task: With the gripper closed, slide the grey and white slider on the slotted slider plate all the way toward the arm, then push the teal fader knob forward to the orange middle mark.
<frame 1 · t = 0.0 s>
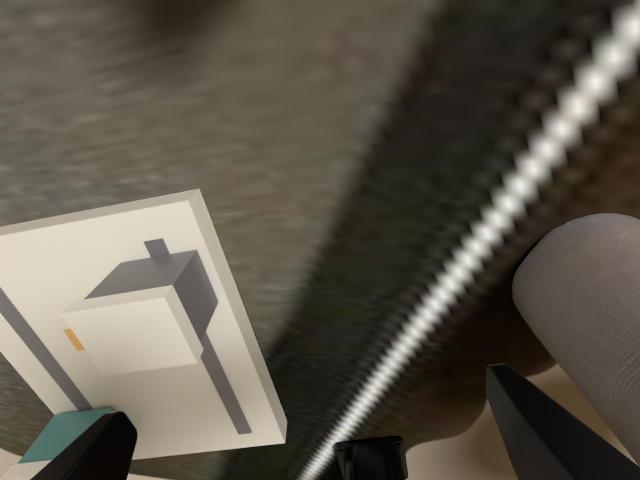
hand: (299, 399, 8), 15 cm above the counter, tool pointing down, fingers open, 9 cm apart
grey and white slider: (153, 308, 20), point 5 cm above the counter, slide at 6.5 cm
teal knob: (75, 456, 27), point 5 cm above the counter, slide at -6.0 cm
pillar candle: (578, 272, 24), on the counter
slotted slider plate: (143, 343, 27), on the counter
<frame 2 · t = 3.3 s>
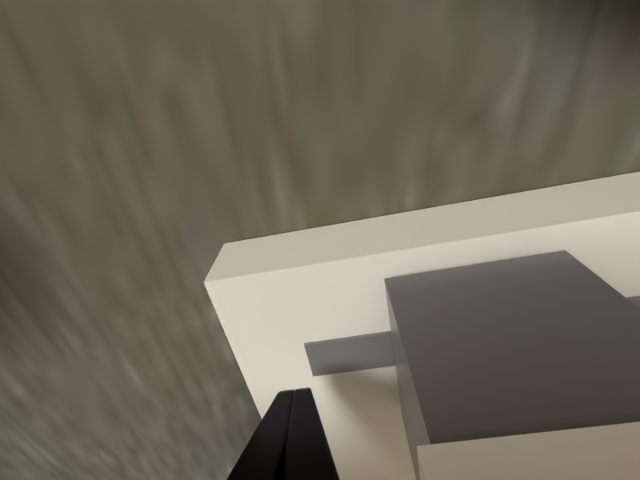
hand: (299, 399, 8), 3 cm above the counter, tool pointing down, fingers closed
grey and white slider: (520, 439, 7), point 5 cm above the counter, slide at 5.2 cm, touching gripper
slotted slider plate: (585, 397, 13), on the counter
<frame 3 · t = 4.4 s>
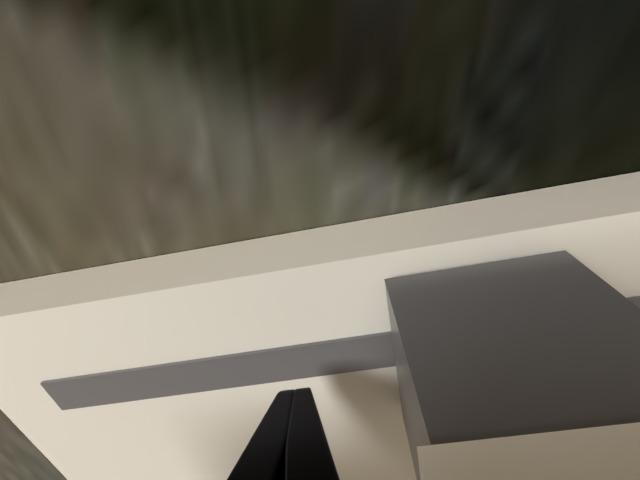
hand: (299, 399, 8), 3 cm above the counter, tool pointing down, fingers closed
grey and white slider: (521, 440, 7), point 5 cm above the counter, slide at -2.7 cm, touching gripper
slotted slider plate: (381, 421, 14), on the counter
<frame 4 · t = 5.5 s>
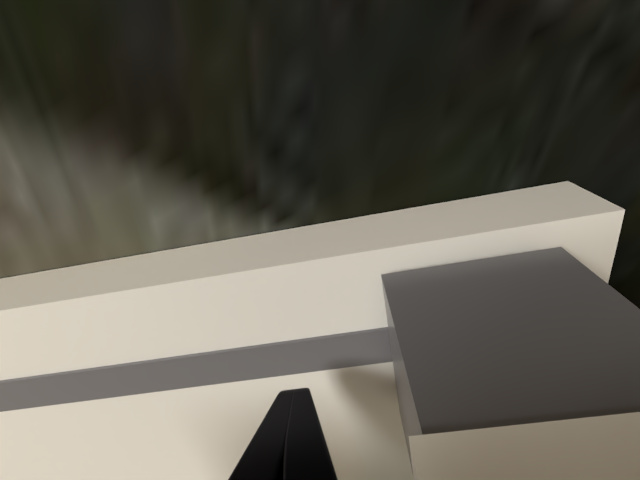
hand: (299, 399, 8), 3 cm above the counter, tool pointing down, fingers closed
grey and white slider: (515, 434, 7), point 5 cm above the counter, slide at -8.1 cm, touching gripper
slotted slider plate: (252, 431, 15), on the counter
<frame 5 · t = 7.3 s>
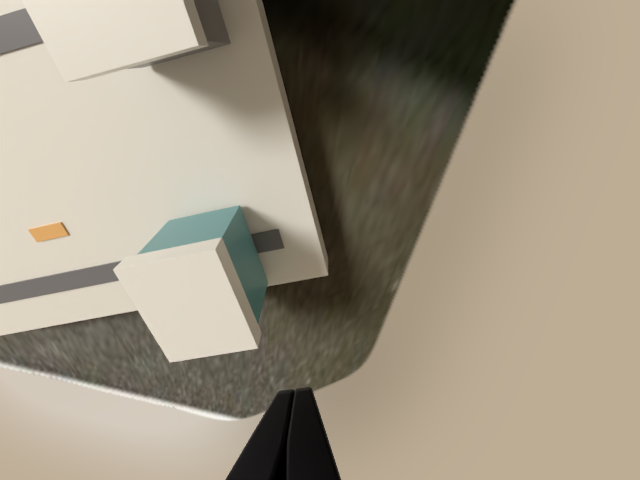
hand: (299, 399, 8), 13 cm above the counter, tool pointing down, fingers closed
teal knob: (207, 278, 17), point 5 cm above the counter, slide at -6.0 cm
slotted slider plate: (92, 161, 19), on the counter
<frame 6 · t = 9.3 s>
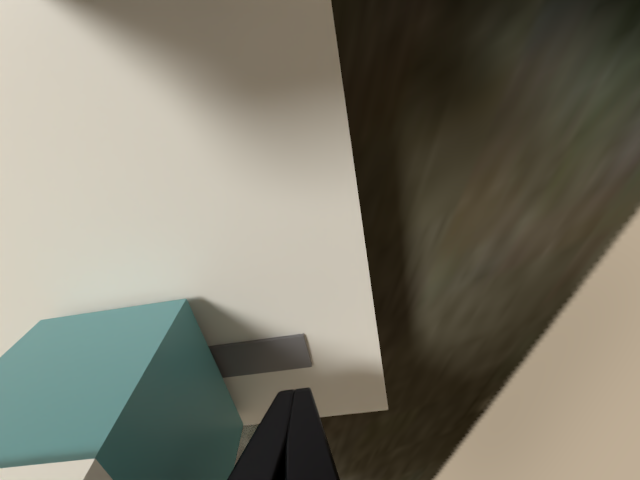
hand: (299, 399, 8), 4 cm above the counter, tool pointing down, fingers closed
teal knob: (102, 468, 8), point 5 cm above the counter, slide at -4.9 cm, touching gripper
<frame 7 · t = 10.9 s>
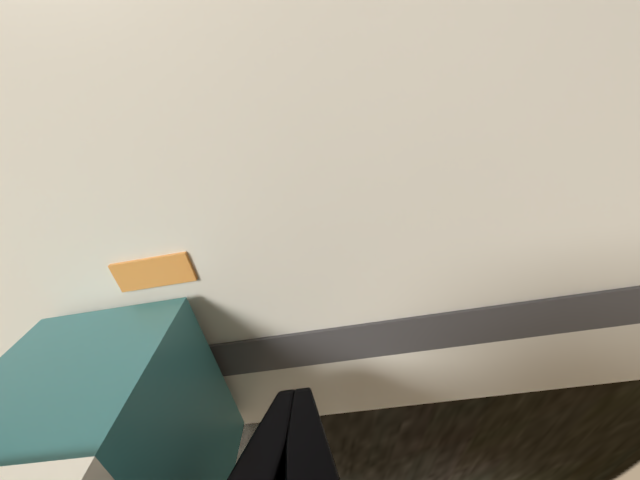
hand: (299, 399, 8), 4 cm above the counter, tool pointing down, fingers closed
teal knob: (103, 467, 8), point 5 cm above the counter, slide at 4.3 cm, touching gripper
slotted slider plate: (253, 119, 9), on the counter
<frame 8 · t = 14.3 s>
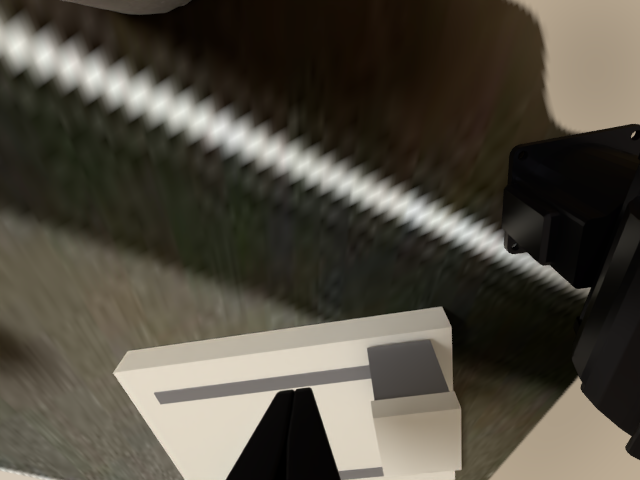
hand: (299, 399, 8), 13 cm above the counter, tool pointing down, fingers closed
grey and white slider: (409, 404, 21), point 5 cm above the counter, slide at -8.1 cm
slotted slider plate: (304, 411, 29), on the counter
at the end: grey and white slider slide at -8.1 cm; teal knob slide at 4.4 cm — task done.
